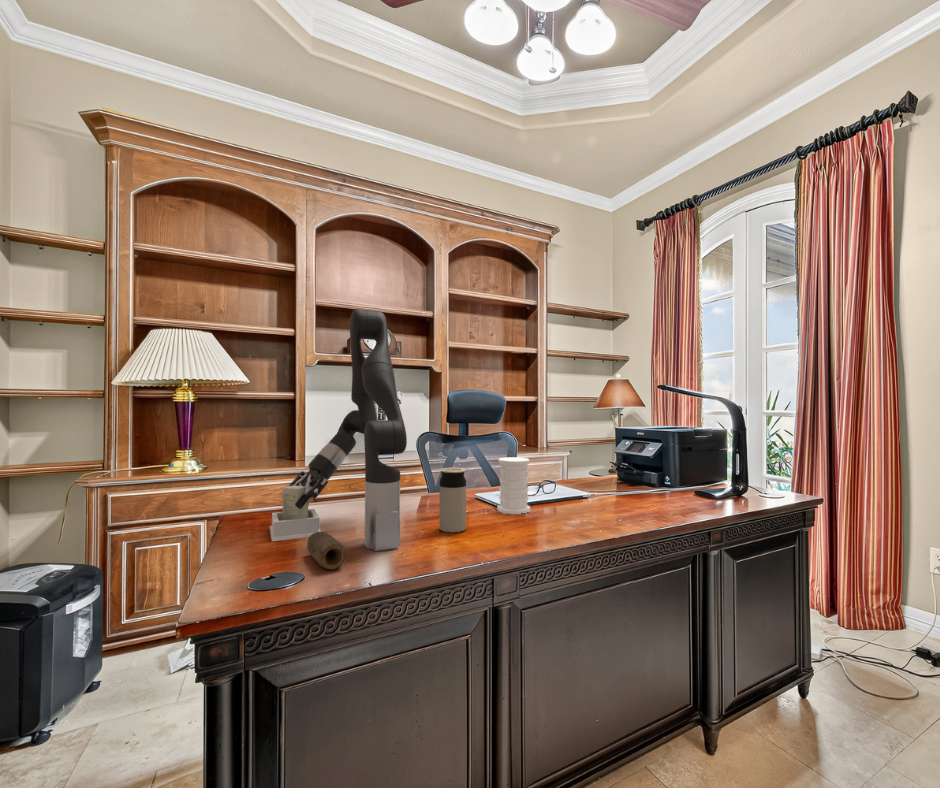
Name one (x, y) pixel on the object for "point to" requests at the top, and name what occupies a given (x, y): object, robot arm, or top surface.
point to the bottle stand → (294, 526)
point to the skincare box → (293, 503)
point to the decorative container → (513, 485)
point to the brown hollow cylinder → (326, 550)
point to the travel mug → (452, 500)
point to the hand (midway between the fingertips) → (290, 504)
